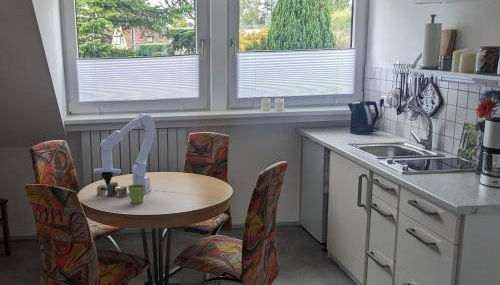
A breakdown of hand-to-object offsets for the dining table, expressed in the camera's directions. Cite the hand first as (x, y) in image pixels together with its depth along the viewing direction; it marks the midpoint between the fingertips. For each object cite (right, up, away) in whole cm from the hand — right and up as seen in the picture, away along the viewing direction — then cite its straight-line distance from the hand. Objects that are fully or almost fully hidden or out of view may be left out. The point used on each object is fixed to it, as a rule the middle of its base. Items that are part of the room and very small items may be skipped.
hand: (108, 185), depth 289 cm
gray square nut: (+3, -5, 0) cm, 6 cm away
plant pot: (+19, -8, -13) cm, 25 cm away
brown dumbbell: (+2, -5, 0) cm, 6 cm away
